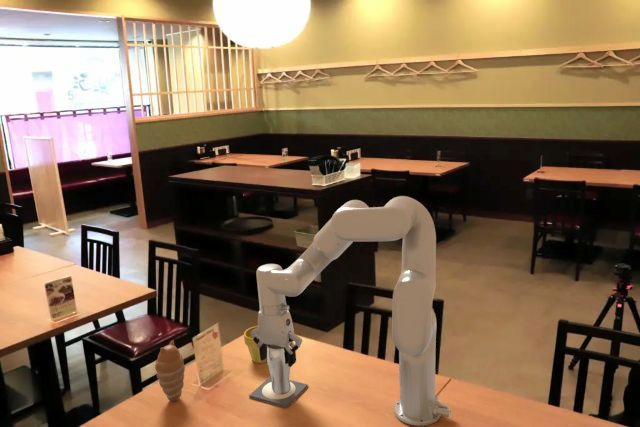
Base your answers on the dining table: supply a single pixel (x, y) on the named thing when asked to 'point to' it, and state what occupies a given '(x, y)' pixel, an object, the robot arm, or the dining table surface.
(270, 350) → the beer glass
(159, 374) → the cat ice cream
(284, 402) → the mat
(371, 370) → the dining table surface
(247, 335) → the plant pot
